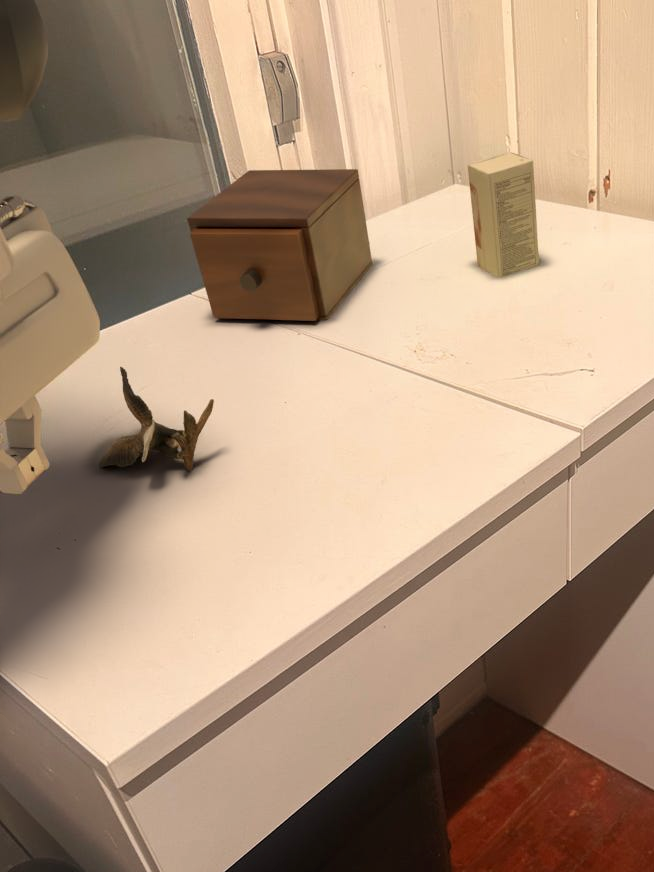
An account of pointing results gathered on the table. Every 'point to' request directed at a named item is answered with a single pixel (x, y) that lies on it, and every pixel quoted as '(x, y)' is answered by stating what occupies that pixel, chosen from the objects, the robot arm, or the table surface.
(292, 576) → the table surface
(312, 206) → the cabinet
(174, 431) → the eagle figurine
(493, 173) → the tall printed carton
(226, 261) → the drawer
